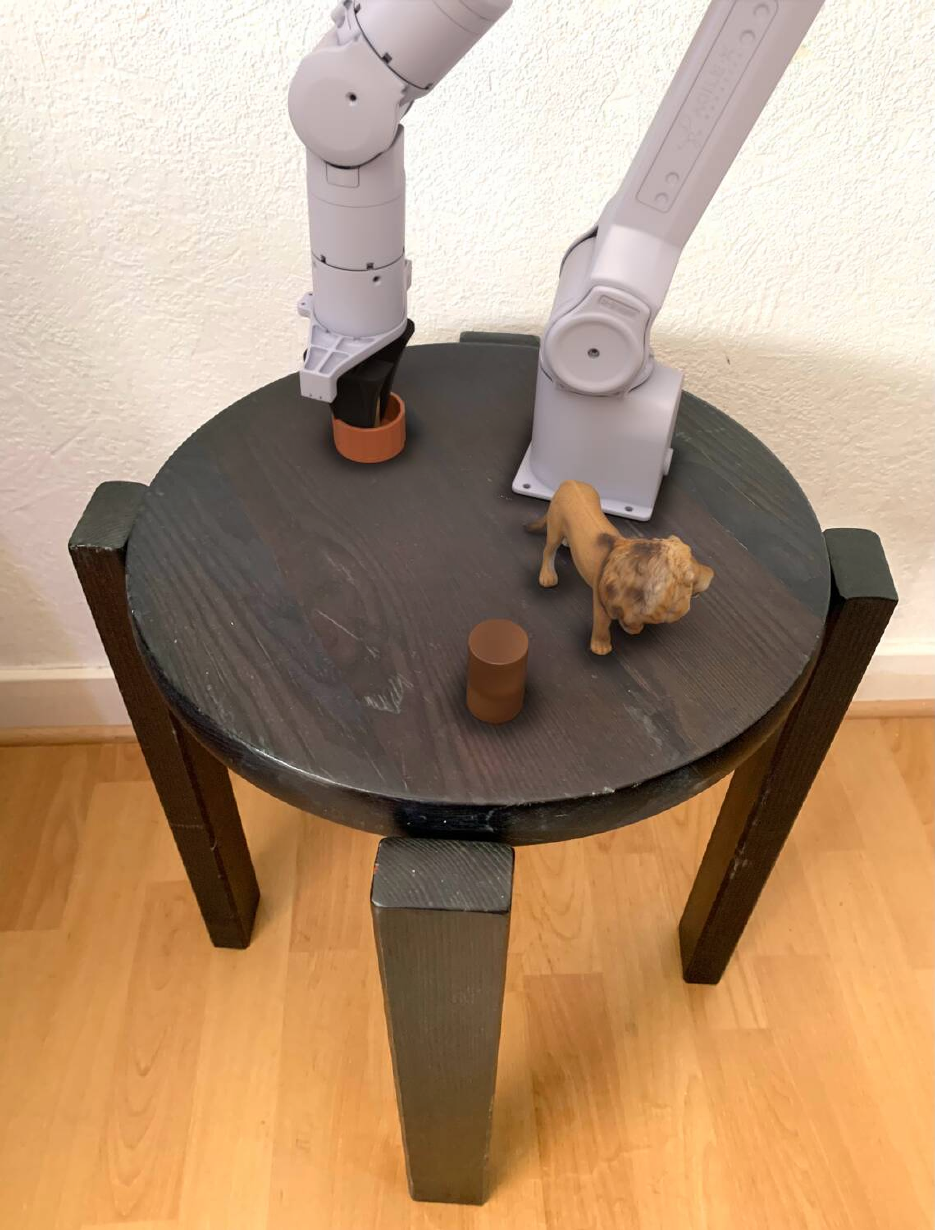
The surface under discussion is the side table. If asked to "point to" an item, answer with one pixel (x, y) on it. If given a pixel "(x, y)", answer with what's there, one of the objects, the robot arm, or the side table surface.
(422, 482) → the side table surface
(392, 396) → the terracotta crock
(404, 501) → the side table surface
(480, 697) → the brown cylinder
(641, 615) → the lion figurine
